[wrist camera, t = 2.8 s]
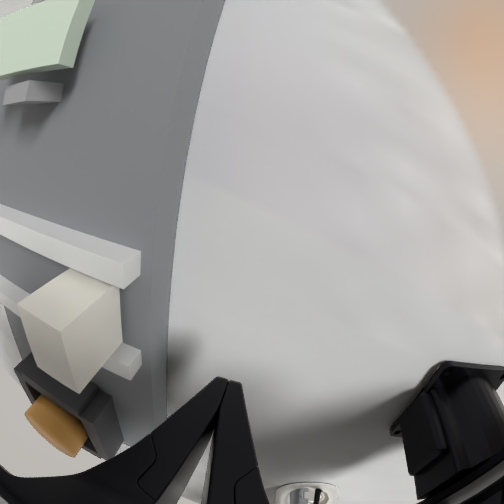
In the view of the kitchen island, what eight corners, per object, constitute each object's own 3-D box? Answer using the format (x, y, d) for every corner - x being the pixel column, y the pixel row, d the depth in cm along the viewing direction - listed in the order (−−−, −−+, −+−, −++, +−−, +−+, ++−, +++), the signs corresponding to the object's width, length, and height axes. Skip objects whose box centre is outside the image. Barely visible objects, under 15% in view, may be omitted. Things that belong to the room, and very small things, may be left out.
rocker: (95, -2, 6) (84, -11, 5) (73, 67, 7) (58, 63, 6) (11, 22, 5) (-2, 19, 4) (-6, 82, 6) (-21, 81, 5)
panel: (231, -20, 7) (195, -81, 3) (167, 440, 18) (147, 482, 14) (36, 21, 8) (-15, 11, 4) (47, 377, 19) (21, 405, 15)
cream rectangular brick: (119, 281, 10) (60, 331, 7) (122, 341, 11) (79, 394, 8) (76, 264, 10) (16, 303, 7) (83, 323, 12) (37, 366, 8)
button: (82, 412, 13) (64, 438, 11) (96, 442, 14) (82, 465, 12) (35, 381, 13) (16, 402, 11) (52, 415, 15) (37, 434, 13)
